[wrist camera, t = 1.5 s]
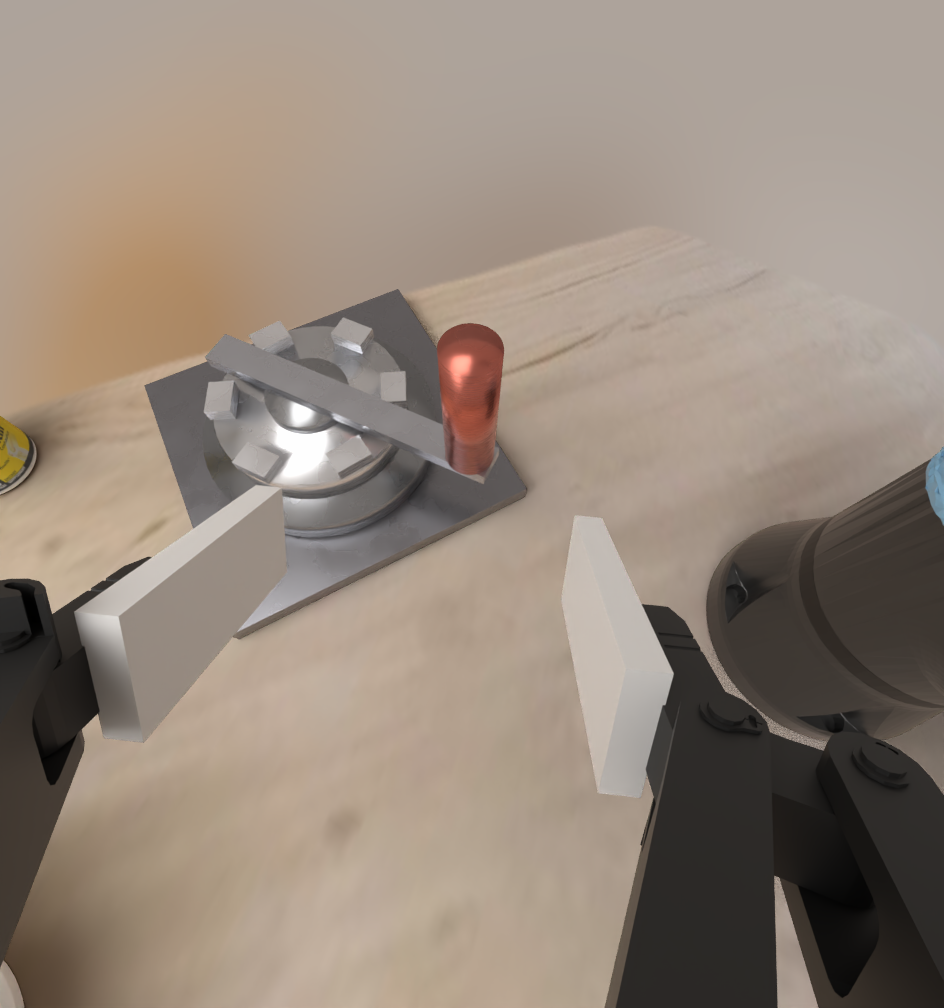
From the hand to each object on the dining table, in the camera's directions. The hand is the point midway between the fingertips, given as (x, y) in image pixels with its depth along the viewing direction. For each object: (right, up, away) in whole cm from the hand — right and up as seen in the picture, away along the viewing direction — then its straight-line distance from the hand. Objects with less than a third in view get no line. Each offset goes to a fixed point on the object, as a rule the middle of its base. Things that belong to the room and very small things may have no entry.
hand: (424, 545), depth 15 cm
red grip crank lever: (-7, +6, +24) cm, 26 cm away
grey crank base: (-11, +6, +29) cm, 31 cm away
